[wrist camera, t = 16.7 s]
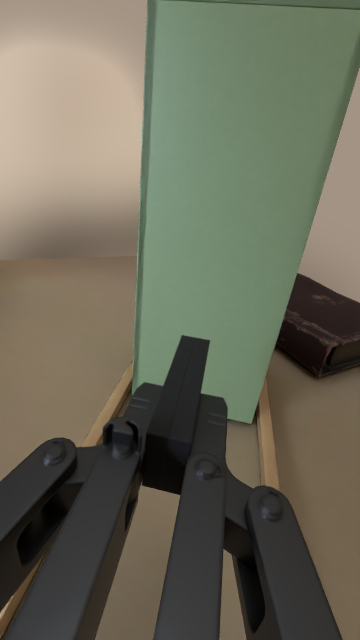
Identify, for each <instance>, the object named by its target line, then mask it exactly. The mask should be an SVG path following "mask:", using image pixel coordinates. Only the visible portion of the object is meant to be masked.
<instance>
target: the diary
mask: <svg viewBox="0 0 360 640" xmlns="http://www.w3.org/2000/svg"><path fill="white" fill-rule="evenodd" d="M276 344H277V345H278V346H280V347H281V348H282V349H284V350H285V351H286V352H287V353H289V354H290V355H291V356H292V357H294V358H295V359H296V360H297V361H299V362H300V363H301V364H302V365H304V366H305V367H306V368H308V369H309V370H310V371H311V372H313V373H314V374H315V375H317V376H318V377H322V376H325V375H328V374H330V373H335V372H338V371H341V370H345V369H348V368H351V367H354V366H357V365H360V303H359V302H357V301H354V300H352V299H350V298H347V297H345V296H343V295H341V294H338V293H336V292H334V291H332V290H331V289H329V288H327V287H325V286H323V285H321V284H319V283H318V282H316V281H313V280H312V279H310V278H308V277H306V276H304V275H301V274H299V273H297V275H296V278H295V282H294V285H293V288H292V292H291V295H290V298H289V302H288V305H287V308H286V311H285V315H284V318H283V321H282V325H281V328H280V331H279V334H278V338H277V341H276Z"/></svg>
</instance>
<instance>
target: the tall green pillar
mask: <svg viewBox="0 0 360 640" xmlns="http://www.w3.org/2000/svg"><path fill="white" fill-rule="evenodd" d="M146 26H147V27H146V51H145V77H144V101H143V126H142V152H141V177H140V202H139V228H138V229H139V230H138V253H137V277H136V303H135V328H134V353H133V378H132V396H133V394H134V392H135V390H136V388H138V387H139V386H140V385H141V384H143V383H144V382H147V383H151V384H156V385H161V386H163V385H164V382H165V380H166V377H167V374H168V372H169V369H170V366H171V363H172V361H173V358H174V355H175V352H176V350H177V347H178V344H179V342H180V339H181V336H182V335H185V336H190V337H196V338H201V339H206V340H210V345H209V350H208V356H207V361H206V367H205V372H204V378H203V383H202V389H201V393H203V394H207V395H212V396H217V397H222V398H224V400H225V402H226V404H227V407H228V414H227V419H231V420H236V421H240V422H245V423H249V424H251V423H252V420H253V417H254V414H255V410H256V407H257V404H258V400H259V397H260V394H261V390H262V387H263V384H264V381H265V377H266V374H267V371H268V367H269V364H270V361H271V358H272V354H273V351H274V348H275V344H276V341H277V338H278V334H279V331H280V328H281V325H282V321H283V318H284V315H285V311H286V308H287V305H288V302H289V298H290V295H291V292H292V288H293V285H294V282H295V278H296V275H297V271H298V268H299V265H300V262H301V258H302V255H303V252H304V249H305V246H306V242H307V239H308V236H309V232H310V229H311V225H312V222H313V219H314V216H315V213H316V209H317V206H318V203H319V199H320V196H321V193H322V189H323V186H324V182H325V180H326V176H327V173H328V170H329V166H330V163H331V160H332V157H333V153H334V150H335V147H336V143H337V140H338V137H339V134H340V130H341V127H342V124H343V120H344V117H345V114H346V110H347V107H348V104H349V101H350V97H351V94H352V91H353V87H354V84H355V81H356V77H357V74H358V71H359V68H360V0H148V2H147V25H146Z"/></svg>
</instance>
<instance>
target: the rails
mask: <svg viewBox="0 0 360 640" xmlns="http://www.w3.org/2000/svg"><path fill="white" fill-rule="evenodd" d="M132 378H133V360H132V361H131V363H130V365H129V366H128V368H127V370H126V371H125V373H124V375H123V376H122V378H121V380H120V381H119V383H118V385H117V386H116V388H115V390H114V391H113V393H112V395H111V397H110V398H109V400H108V402H107V403H106V405H105V407H104V408H103V410H102V412H101V413H100V415H99V417H98V418H97V420H96V422H95V423H94V425H93V427H92V428H91V430H90V432H89V433H88V435H87V437H86V438H85V440H84V442H83V444H82V445H81V447H91V446H97V445H100V444H102V443H103V427H104V425H105V424H106V423H107V422H108V421H110V420H112V419H113V418H116V416H117V414H118V412H119V411H120V409H121V407H122V405H123V403H124V401H125V399H126V397H127V395H128V393H129V391H130V389H131V388H132ZM256 417H257V432H258V447H259V462H260V477H261V486H262V485H265V486H270V487H273V488H275V489H276V490H278V491H280V485H279V477H278V469H277V461H276V453H275V445H274V437H273V429H272V422H271V414H270V406H269V398H268V390H267V382H266V377H265V381H264V384H263V387H262V390H261V394H260V397H259V400H258V404H257V407H256ZM43 556H44V555H43ZM42 558H43V557H42ZM42 558H41V559H40V561H39V562H38V563H37V565H36V566H35V567H34V569H33V570H32V571H31V572H30V574H29V575H28V576H27V578H26V579H25V580H24V582H23V583H22V584H21V586H20V587H19V588H18V590H17V591H16V592H15V594H14V595H13V596H12V598H11V599H10V600H9V602H8V603H7V604H6V606H5V607H4V608H3V610H2V611H1V612H0V639H1V637H2V635H3V633H4V631H5V629H6V627H7V625H8V623H9V622H10V620H11V618H12V616H13V614H14V612H15V610H16V608H17V606H18V604H19V602H20V600H21V599H22V597H23V595H24V593H25V591H26V589H27V587H28V585H29V583H30V581H31V579H32V577H33V576H34V574H35V572H36V570H37V568H38V566H39V564H40V562H41V560H42Z"/></svg>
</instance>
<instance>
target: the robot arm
mask: <svg viewBox="0 0 360 640" xmlns="http://www.w3.org/2000/svg"><path fill="white" fill-rule="evenodd" d="M209 345H210V340H206V339H201V338H196V337H190V336H185V335H182V336H181V339H180V342H179V344H178V347H177V350H176V352H175V355H174V358H173V361H172V363H171V366H170V369H169V372H168V374H167V377H166V380H165V382H164V385H163V386H161V385H156V384H151V383H147V382H144V383H143V384H141V385H140V386H139V387H138V388H136V390H135V392H134V394H133V396H132V399H131V401H130V403H129V405H128V407H127V409H126V411H125V413H124V415H123V417H117V418H113V419H112V420H110V421H108V422H107V423H106V424H105V425H104V427H103V444H100V445H97V446H91V447H77V448H76V446H75V444H74V443H73V442H72V441H71V440H70V439H66V438H54V439H51V440H48V441H46V442H44V443H43V444H41V445H40V446H39V447H38V448H36V449H35V450H34V451H33V452H32V453H31V454H30V455H29V456H28V457H27V458H26V459H24V460H23V461H22V462H21V463H20V464H19V465H18V466H17V467H16V468H15V469H14V470H12V471H11V472H10V473H9V474H8V475H7V476H6V477H5V478H4V479H3V480H2V481H0V612H1V611H2V610H3V608H4V607H5V606H6V604H7V603H8V602H9V600H10V599H11V598H12V596H13V595H14V594H15V592H16V591H17V590H18V588H19V587H20V586H21V584H22V583H23V582H24V580H25V579H26V578H27V576H28V575H29V574H30V572H31V571H32V570H33V569H34V567H35V566H36V565H37V563H38V562H39V561H40V559H41V558H42V557H43V555H44V554H45V553H46V551H47V550H48V549H49V547H50V546H51V545H52V543H53V542H54V543H53V545H52V547H51V549H50V551H49V553H48V555H47V556H46V558H45V560H44V562H43V564H42V566H41V568H40V570H39V572H38V574H37V576H36V578H35V580H34V582H33V584H32V586H31V588H30V590H29V592H28V594H27V596H26V598H25V600H24V602H23V604H22V606H21V608H20V610H19V612H18V614H17V616H16V618H15V620H14V622H13V624H12V626H11V627H10V629H9V631H8V633H7V635H6V637H5V639H4V640H95V637H96V633H97V630H98V627H99V624H100V621H101V617H102V614H103V611H104V608H105V605H106V601H107V598H108V595H109V592H110V589H111V585H112V582H113V579H114V576H115V572H116V569H117V566H118V563H119V560H120V556H121V553H122V550H123V547H124V544H125V540H126V537H127V534H128V531H129V528H130V524H131V521H132V518H133V515H134V512H135V508H136V505H137V502H138V493H139V489H140V486H141V483H142V486H146V487H150V488H154V489H158V490H162V491H166V492H170V493H174V494H178V495H181V496H180V501H179V506H178V512H177V517H176V522H175V527H174V533H173V538H172V543H171V549H170V554H169V559H168V564H167V570H166V575H165V580H164V586H163V591H162V596H161V601H160V607H159V612H158V617H157V623H156V628H155V633H154V639H153V640H219V633H220V611H221V589H222V568H223V549H225V550H226V551H228V552H229V553H231V554H232V559H233V565H234V571H235V576H236V582H237V587H238V593H239V599H240V604H241V610H242V615H243V621H244V627H245V632H246V638H247V640H343V639H342V637H341V634H340V631H339V629H338V626H337V623H336V621H335V618H334V616H333V613H332V610H331V608H330V605H329V602H328V600H327V597H326V595H325V592H324V589H323V587H322V584H321V581H320V579H319V576H318V574H317V571H316V568H315V566H314V563H313V561H312V558H311V555H310V553H309V550H308V547H307V545H306V542H305V540H304V537H303V534H302V532H301V529H300V526H299V524H298V521H297V519H296V516H295V513H294V511H293V508H292V506H291V504H290V503H289V501H288V499H287V498H286V497H285V496H284V495H283V494H282V493H281V492H280V491H278V490H276V489H275V488H273V487H270V486H265V485H262V486H257V487H255V488H254V489H253V488H251V487H249V486H247V485H246V484H244V483H242V482H241V481H239V480H238V479H236V478H235V477H234V476H233V475H232V474H231V472H230V471H229V469H228V467H227V464H226V459H225V453H226V434H227V414H228V407H227V404H226V402H225V400H224V398H222V397H217V396H212V395H207V394H203V393H201V389H202V383H203V378H204V372H205V367H206V361H207V356H208V350H209ZM142 479H143V480H142Z"/></svg>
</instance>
